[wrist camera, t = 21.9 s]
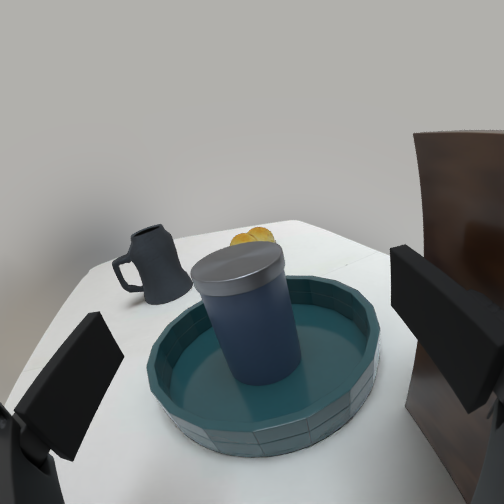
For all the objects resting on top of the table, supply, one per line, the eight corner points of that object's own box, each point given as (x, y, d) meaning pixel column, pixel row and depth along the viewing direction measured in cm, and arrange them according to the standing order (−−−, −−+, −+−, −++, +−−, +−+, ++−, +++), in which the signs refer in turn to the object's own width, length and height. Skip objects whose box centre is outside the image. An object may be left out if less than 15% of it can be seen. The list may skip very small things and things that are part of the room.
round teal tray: (420, 400, 15) (429, 365, 14) (154, 470, 15) (126, 445, 13) (330, 287, 35) (326, 259, 33) (176, 329, 34) (165, 303, 33)
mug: (185, 274, 52) (166, 218, 49) (199, 288, 44) (177, 223, 41) (128, 298, 48) (105, 242, 44) (133, 317, 40) (104, 252, 36)
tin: (313, 373, 21) (292, 262, 18) (230, 395, 21) (185, 291, 18) (293, 328, 28) (272, 234, 25) (226, 346, 28) (193, 255, 24)
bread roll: (227, 252, 58) (222, 234, 57) (265, 238, 61) (261, 221, 59) (239, 263, 51) (233, 242, 49) (282, 246, 53) (278, 227, 52)
